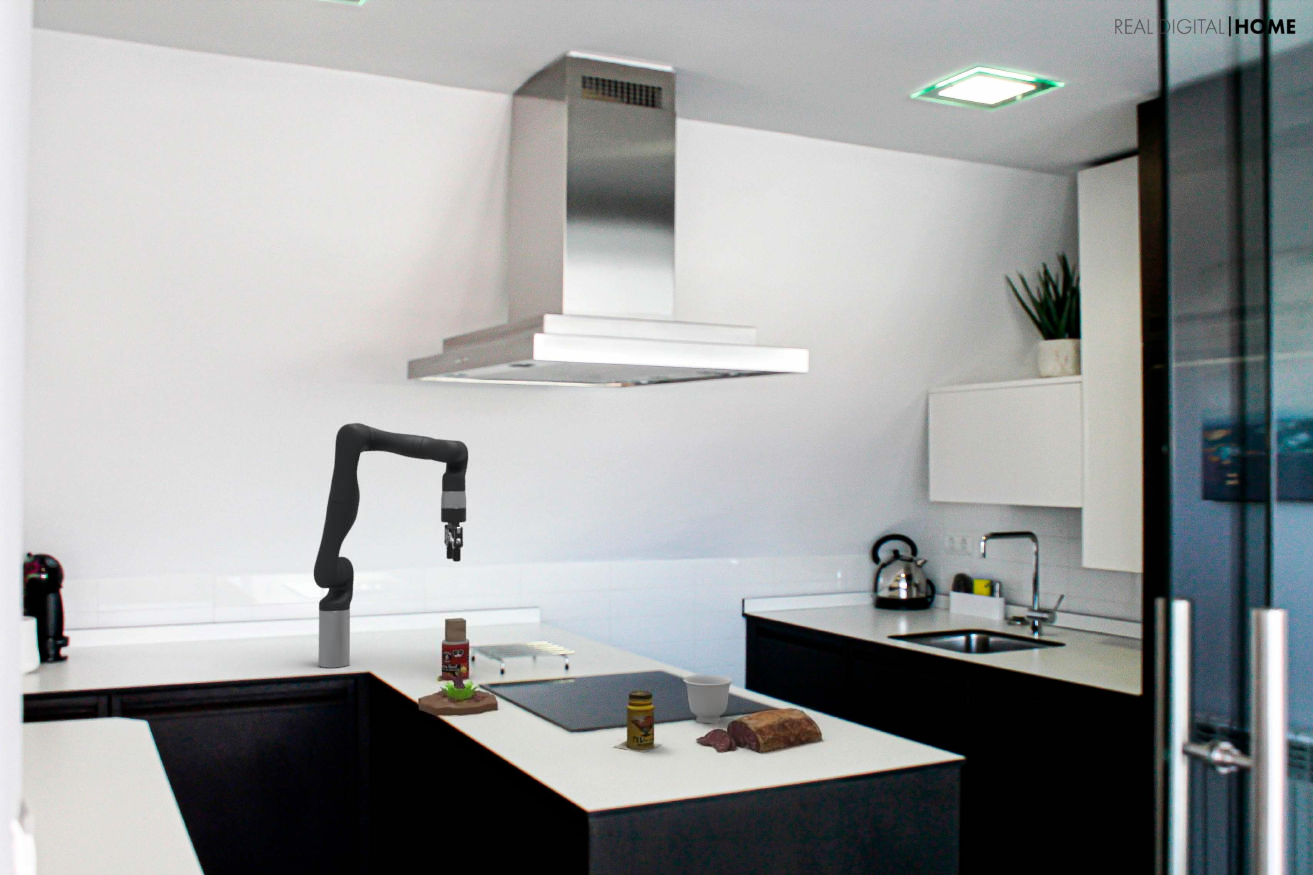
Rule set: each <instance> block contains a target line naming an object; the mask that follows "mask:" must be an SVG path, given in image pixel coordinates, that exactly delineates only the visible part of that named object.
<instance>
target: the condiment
mask: <svg viewBox="0 0 1313 875" xmlns="http://www.w3.org/2000/svg"><path fill="white" fill-rule="evenodd" d="M653 701H654V700H653V693H652V692H651V691H646V690H633V691H631V692H629V693H628V702H627V703H628V704H627V706H626V740H625V741H623V742H621V743H619V744H616V745H614V746H613V748H617V749H624V750H629V751H634V752H641V753H646V752H647V753H648V752H649V751H652V750H653V749H655V748H657V747H659V746H661V745H662V743H657V742H655V706H654V704H653Z"/></svg>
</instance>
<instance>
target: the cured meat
mask: <svg viewBox="0 0 1313 875" xmlns="http://www.w3.org/2000/svg"><path fill="white" fill-rule="evenodd" d="M822 736H823V733H822V731H821V729H820V726H819V725H818V724H817V722H816V721H815V719H814V718H812V717H811V716H809V714H807V713H806V712H804V710H803V709H798V708H792V707H788V708H781V709H769V710H762V711H761V710H760V711H758V712H754V713H750V714H746V715H742V716H740V717H738V718H736V719H733V720H732V721H729V722H728V724H727V726H726V730H725V729H723V728H719V727H718V728H714V729H712V730H709V731H708V732H707V733H706V734H705V735H704V736H700V737H697V738H696V739H695V740H696V742H698V743H699V744H702V745H705V746H707V747H708V746H709V747H713V748H715V751H716V752H718V753H727V752H728V751H729V752H735V751H736V749H737V748H740V749H741V748H745V747H750V748H751V749H753V750H754V752H755V753H756V754H757V753H758V754H763V753H769V752H775V751H779V750H780V751H781V750H785V749H789V748H793V747H797V746H800V745H805V744H809V743H810V744H811V743H815V742H816V743H817V742H821V741H822V740H823V737H822Z"/></svg>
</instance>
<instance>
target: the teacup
mask: <svg viewBox="0 0 1313 875" xmlns="http://www.w3.org/2000/svg"><path fill="white" fill-rule="evenodd" d="M683 682H684V683H685V685H686V689H687V690H686V691H687V698H688V705H689V709H690V711H691V712H692V713H691V714H694V715H695V716H696V721H697V722H699V723H704V724H714V723H715V724H716V723H718V722H720V721H721V718H720V716H723V714H725V713H726V711H727V707H728V702H729V694H730V693H729V692H730V686H731V683H733V678H731V677H729V676H727V675H721V674H720V675H719V674H710V673H709V674H693V675H689V676H686V677H685V678H683Z"/></svg>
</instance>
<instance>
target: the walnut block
mask: <svg viewBox="0 0 1313 875" xmlns="http://www.w3.org/2000/svg"><path fill="white" fill-rule="evenodd" d="M466 639H467V620H466V619H464V618H463V617H458V618H457V617H454V618H444V640H446V641H448V642H459V641H466Z"/></svg>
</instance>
